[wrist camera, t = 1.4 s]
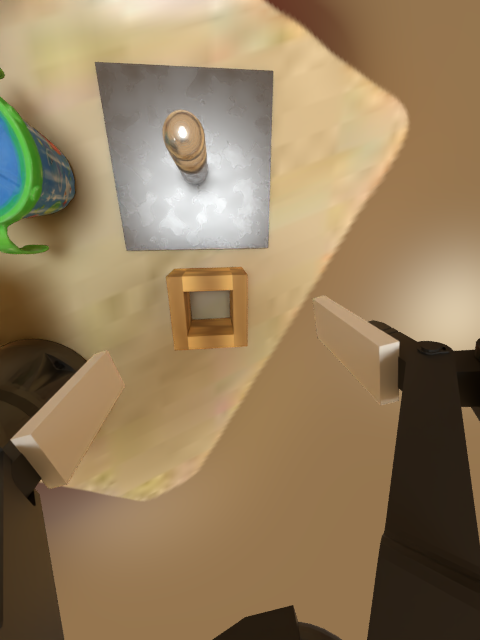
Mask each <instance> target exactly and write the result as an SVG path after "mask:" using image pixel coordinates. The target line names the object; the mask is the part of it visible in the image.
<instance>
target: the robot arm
mask: <svg viewBox="0 0 480 640" xmlns="http://www.w3.org/2000/svg"><path fill="white" fill-rule="evenodd" d="M312 300H313V307H314V315H315V323H316V331H317V338H318V339H319V340H320V341H321V342H322V343H323V344H324V345H325V346H326V347H327V348H328V349H329V350H330V352H331V353H332V354H333V355H334V356H335V357H336V358H337V359H338V360H339V361H340V362H341V363H342V364H343V365H344V367H345V368H346V369H347V370H348V371H349V372H350V373H351V374H352V375H353V376H354V377H355V378H356V379H357V380H358V382H359V383H360V384H361V385H362V386H363V387H364V388H365V389H366V390H367V391H368V392H369V393H370V394H371V395H372V396H373V398H374V399H375V400H376V401H377V402H378V403H379V404H380V405H383V404H387V403H392V402H395V401H399V389H400V390H401V391H402V399H401V407H400V415H399V422H398V430H397V438H396V446H395V454H394V462H393V469H392V478H391V486H390V493H389V501H388V509H387V518H386V524H385V531H384V534H383V535H382V538H381V543H380V549H379V557H378V563H377V571H376V578H375V585H374V593H373V600H372V607H371V615H370V623H369V630H368V637H367V640H480V543H479V536H478V528H477V521H476V514H475V506H474V499H473V491H472V484H471V477H470V469H469V462H468V454H467V447H466V440H465V433H464V425H463V418H462V410H461V407H471V408H472V409H473V411H474V413H475V414H476V416H477V418H478V419H479V421H480V339H478V340H477V342H476V347H475V350H462V351H453V350H452V349H451V348H450V347H448V346H447V345H445V344H442V343H438V342H432V341H420V342H417V341H415V340H413V339H411V338H410V337H408V336H406V335H404V334H403V333H401V332H398V331H397V330H395V329H394V328H391V327H390V326H388V325H386V324H385V323H382V322H378V321H369V322H367V321H365V320H364V319H362V318H360V317H359V316H357V315H355V314H354V313H352V312H351V311H349V310H347V309H346V308H344V307H342V306H340V305H339V304H337V303H336V302H334V301H333V300H331V299H329V298H328V297H326V296H320V297H316V298H313V299H312ZM124 387H125V385H124V383H123V381H122V379H121V377H120V375H119V372H118V370H117V368H116V366H115V364H114V362H113V360H112V358H111V356H110V354H109V352H108V350H106V351H102V352H98V353H95V354H94V355H93V356H92V357H91V358H90V359H89V360H88V361H87V362H86V361H85V360H84V359H83V358H82V357H81V356H80V355H78V354H77V353H76V352H74V351H73V350H71V349H69V348H67V347H65V346H63V345H60V344H58V343H54V342H51V341H46V340H39V339H25V340H18V341H14V342H11V343H9V344H6V345H4V346H3V347H1V348H0V640H64V635H63V630H62V624H61V618H60V612H59V606H58V600H57V594H56V588H55V582H54V576H53V571H52V565H51V559H50V553H49V547H48V541H47V535H46V529H45V523H44V517H43V512H42V506H41V500H40V495H39V493H38V492H37V491H36V489H35V487H36V485H37V484H38V483H39V481H40V480H42V481H43V482H44V483H45V485H46V486H47V487H48V488H49V489H51V488H55V487H59V486H63V485H67V484H68V482H69V481H70V479H71V477H72V475H73V474H74V472H75V470H76V469H77V467H78V465H79V464H80V462H81V460H82V458H83V457H84V455H85V453H86V452H87V450H88V448H89V447H90V445H91V443H92V441H93V440H94V438H95V436H96V435H97V433H98V431H99V429H100V428H101V426H102V424H103V423H104V421H105V419H106V418H107V416H108V414H109V412H110V411H111V409H112V407H113V406H114V404H115V402H116V401H117V399H118V397H119V395H120V394H121V392H122V390H123V389H124ZM213 640H342V639H340V638H339V637H337V636H336V635H334V634H332V633H330V632H329V631H327V630H325V629H323V628H320V627H318V626H315V625H312V624H308V623H302V622H298V620H297V616H296V613H295V610H294V607H293V605H292V606H288V607H284V608H280V609H276V610H272V611H268V612H264V613H260V614H256V615H252V616H248V617H245V618H243V619H242V620H240V621H239V622H238V623H236V624H235V625H233V626H232V627H230V628H229V629H227V630H226V631H224V632H223V633H222V634H220V635H219V636H217V637H216V638H214V639H213Z"/></svg>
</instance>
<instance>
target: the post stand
mask: <svg viewBox="0 0 480 640" xmlns="http://www.w3.org/2000/svg"><path fill="white" fill-rule="evenodd" d="M95 66H96V72H97V78H98V84H99V90H100V96H101V102H102V108H103V113H104V119H105V125H106V131H107V137H108V143H109V149H110V155H111V161H112V167H113V173H114V178H115V184H116V190H117V196H118V202H119V208H120V214H121V220H122V226H123V232H124V238H125V244H126V249H127V250H179V249H230V248H268V238H269V202H270V167H271V131H272V96H273V71H265V70H245V69H225V68H205V67H184V66H164V65H144V64H124V63H104V62H95Z"/></svg>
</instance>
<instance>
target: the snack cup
mask: <svg viewBox="0 0 480 640" xmlns="http://www.w3.org/2000/svg"><path fill="white" fill-rule="evenodd" d="M4 76H5V75H4V72H3V71H2V69H1V68H0V79H3V78H4ZM74 184H75V180H74V176H73V173H72V170H71V168H70V165H69V163H68V160H67V159H66V158H65V156H64V155H63V154H62V153H61V152H60V151H59V150H58V149H57V148H56V147H55V146H54V145H53V144H52V143H51V142H50V141H49V140H47V139H46V138H45V137H44V136H43V135H41V134H40V133H39V132H38V131H37V130H35V129H34V128H32V127H31V126H30V125H29V124H28V123H27V122H25V121H24V120H23V119H22V118H21V117H20V115H19V114H18V113H17V111H16V110H15V109H14V108H13V107H12V106H10V105H9V104H8V103H7V102H6V101H5V100H3V99H2V98H1V97H0V251H1V252H4V253H8V254H36V253H42V252H45V251H47V250H48V249H49V247H48V246H47V245H26V246H24V247H23V248H18V247H17V246H16V245H15V244H14V243H13V242H12V241H11V240H10V239H9V237H8V235H7V227H8V226H9V225H11V224H13V223H14V222H17V221H19V220H20V219H24V218H30V217H36V216H41V215H46V214H52V213H55V212H58V211H59V210H61V209H63V208H64V207H66V206H67V205H68V203H69V202H70V200H71V199H73V198H74V194H75V187H74Z"/></svg>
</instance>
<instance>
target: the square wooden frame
mask: <svg viewBox="0 0 480 640" xmlns="http://www.w3.org/2000/svg"><path fill="white" fill-rule="evenodd" d="M166 281H167V289H168V298H169V306H170V315H171V323H172V331H173V340H174V348H175V350H190V349H207V348H225V347H242V346H247V273H246V272H245V271H244V270H243V268H242V267H227V268H189V269H174V270H173V271H172V272H171V273H170V274H169V275H168V276H167V277H166ZM218 290H230V318H220V319H198V320H192V318H191V306H190V295H189V291H218Z"/></svg>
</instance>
